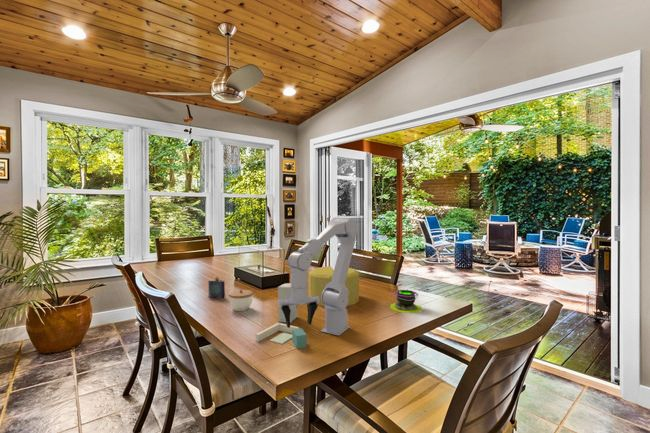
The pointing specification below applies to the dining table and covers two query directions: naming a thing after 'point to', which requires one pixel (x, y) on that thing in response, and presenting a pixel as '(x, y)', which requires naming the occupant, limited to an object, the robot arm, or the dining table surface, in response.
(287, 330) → the corner walls
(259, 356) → the dining table surface
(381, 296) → the dining table surface
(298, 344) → the teal brick
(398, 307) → the toy cauldron
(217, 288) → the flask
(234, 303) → the lidded jar
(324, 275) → the cheese
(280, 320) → the skincare box
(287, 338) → the pad
